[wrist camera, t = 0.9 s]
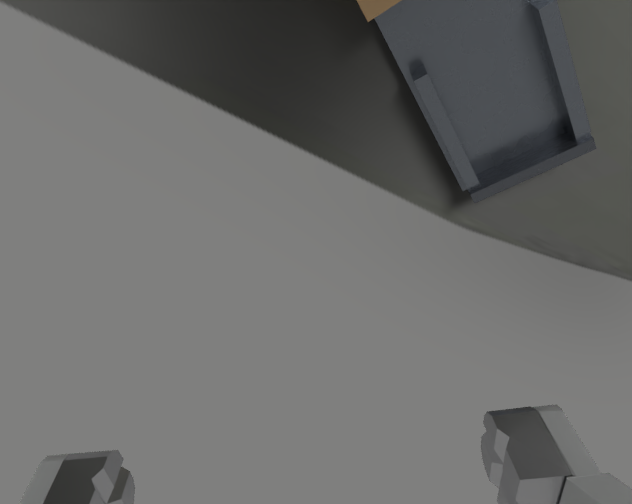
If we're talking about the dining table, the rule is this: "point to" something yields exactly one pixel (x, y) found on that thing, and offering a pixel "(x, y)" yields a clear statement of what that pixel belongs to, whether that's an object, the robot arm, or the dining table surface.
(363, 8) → the cardboard shipping carton
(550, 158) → the tray
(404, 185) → the dining table surface
